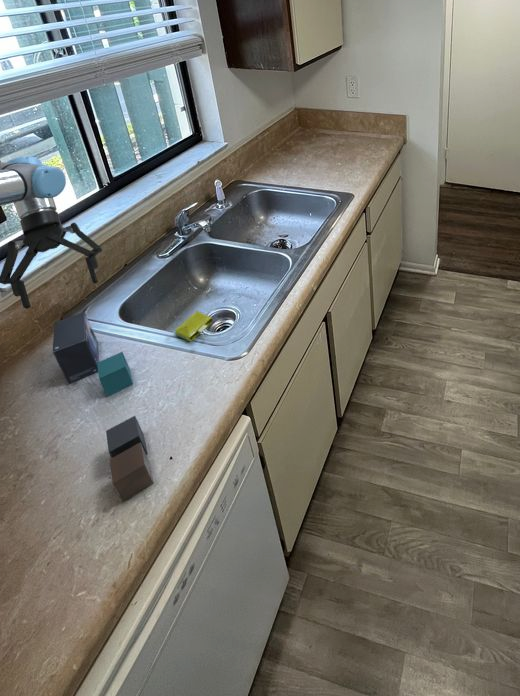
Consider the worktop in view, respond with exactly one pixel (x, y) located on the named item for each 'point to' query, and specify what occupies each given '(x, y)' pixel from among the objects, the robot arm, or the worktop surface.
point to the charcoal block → (125, 437)
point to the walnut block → (131, 472)
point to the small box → (75, 347)
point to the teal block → (114, 374)
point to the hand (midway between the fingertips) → (62, 294)
